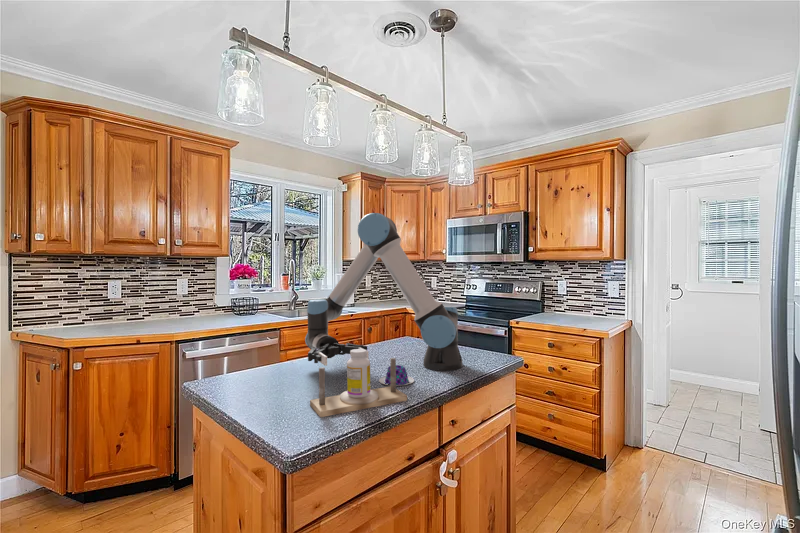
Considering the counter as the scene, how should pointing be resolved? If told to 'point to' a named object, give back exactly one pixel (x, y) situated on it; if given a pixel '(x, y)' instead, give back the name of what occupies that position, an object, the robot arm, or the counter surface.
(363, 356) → the supplement bottle
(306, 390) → the counter surface
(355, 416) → the counter surface
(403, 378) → the pudding
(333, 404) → the board
